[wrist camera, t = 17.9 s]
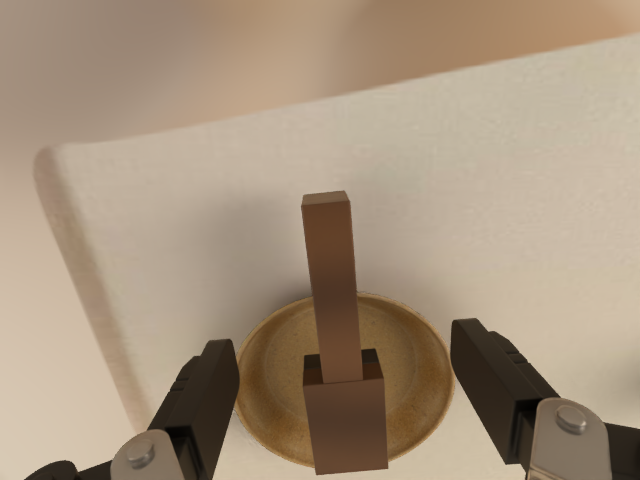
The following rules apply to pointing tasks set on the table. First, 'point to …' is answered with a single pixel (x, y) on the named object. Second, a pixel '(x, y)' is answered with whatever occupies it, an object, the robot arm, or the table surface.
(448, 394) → the plant saucer
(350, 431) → the brush
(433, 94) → the table surface
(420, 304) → the table surface
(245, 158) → the table surface
